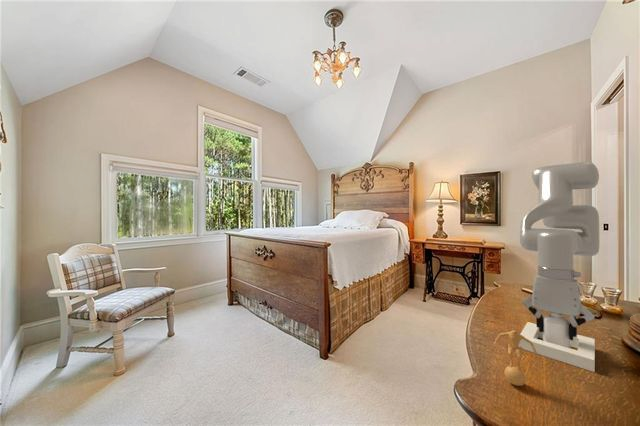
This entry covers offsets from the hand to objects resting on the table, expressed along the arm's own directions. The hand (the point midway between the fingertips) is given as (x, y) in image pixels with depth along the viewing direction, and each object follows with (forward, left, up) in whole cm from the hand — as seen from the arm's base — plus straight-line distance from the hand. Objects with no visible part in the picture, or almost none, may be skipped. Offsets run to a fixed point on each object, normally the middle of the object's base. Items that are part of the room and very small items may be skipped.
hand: (555, 333), depth 71 cm
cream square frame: (0, 0, -4) cm, 4 cm away
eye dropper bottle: (0, 0, -3) cm, 3 cm away
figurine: (+26, -5, -4) cm, 27 cm away
